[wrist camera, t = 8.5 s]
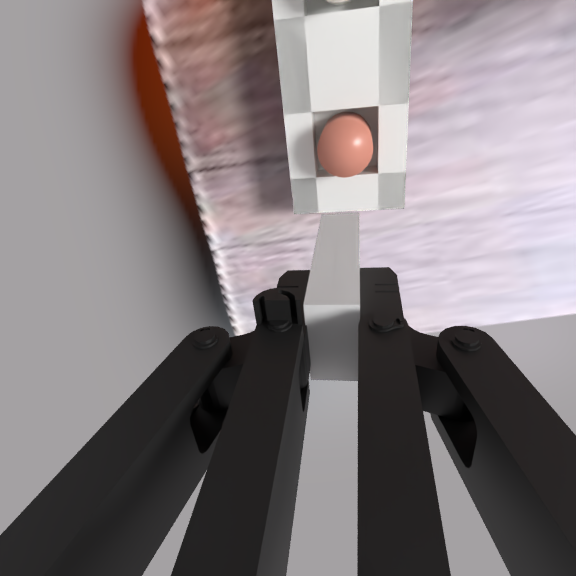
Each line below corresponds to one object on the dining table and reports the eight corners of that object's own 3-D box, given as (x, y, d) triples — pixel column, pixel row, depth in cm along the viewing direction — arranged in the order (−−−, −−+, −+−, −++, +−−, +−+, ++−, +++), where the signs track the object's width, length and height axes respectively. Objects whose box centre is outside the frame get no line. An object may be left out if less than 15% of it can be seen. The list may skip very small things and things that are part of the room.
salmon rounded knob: (319, 114, 35) (315, 123, 32) (371, 109, 35) (373, 117, 31) (322, 165, 38) (319, 179, 34) (371, 161, 37) (373, 175, 33)
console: (268, -122, 29) (256, -142, 26) (412, -150, 28) (420, -176, 24) (299, 199, 42) (293, 214, 38) (400, 194, 40) (404, 208, 37)
